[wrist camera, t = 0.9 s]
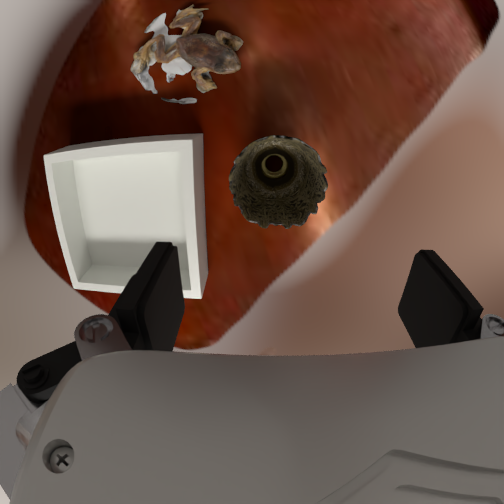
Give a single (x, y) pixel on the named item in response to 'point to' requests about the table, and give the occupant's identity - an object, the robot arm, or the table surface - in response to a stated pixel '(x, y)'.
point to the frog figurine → (186, 52)
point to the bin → (129, 208)
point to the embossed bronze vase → (278, 182)
